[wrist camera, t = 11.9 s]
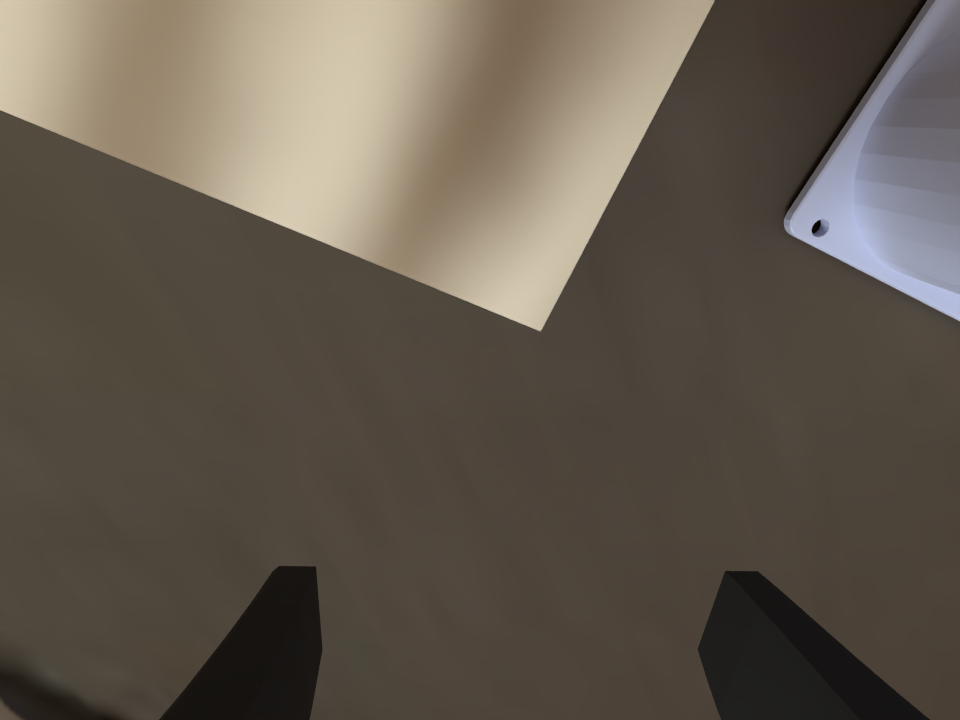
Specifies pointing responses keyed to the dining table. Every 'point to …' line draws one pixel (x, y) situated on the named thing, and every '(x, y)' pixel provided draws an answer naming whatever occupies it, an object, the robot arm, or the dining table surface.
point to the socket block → (370, 117)
